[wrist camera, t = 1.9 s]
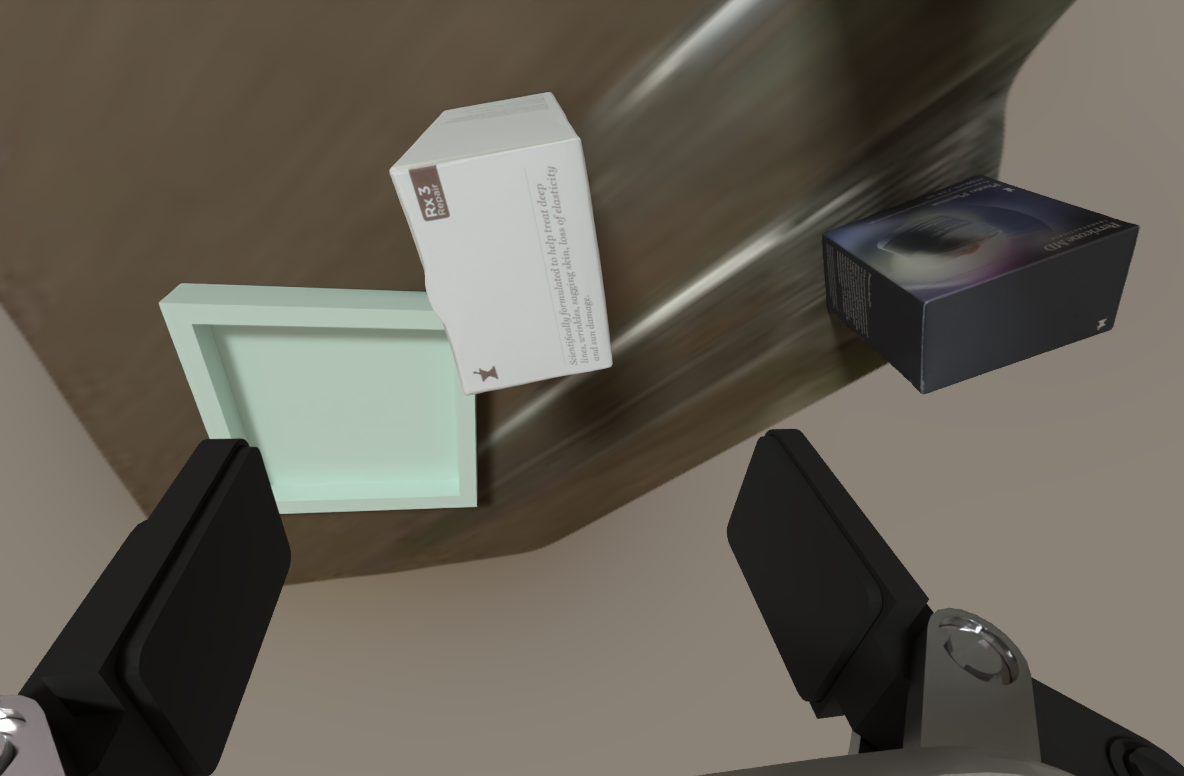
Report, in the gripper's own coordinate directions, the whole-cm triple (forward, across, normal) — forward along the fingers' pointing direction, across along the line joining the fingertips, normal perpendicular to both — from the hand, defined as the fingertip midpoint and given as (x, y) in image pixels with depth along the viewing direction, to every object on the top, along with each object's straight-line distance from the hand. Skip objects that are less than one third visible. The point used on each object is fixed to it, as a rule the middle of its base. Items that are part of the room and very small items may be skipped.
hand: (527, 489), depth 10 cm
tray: (+24, +10, +14) cm, 29 cm away
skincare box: (+24, 0, 0) cm, 24 cm away
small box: (+24, -26, +2) cm, 35 cm away
